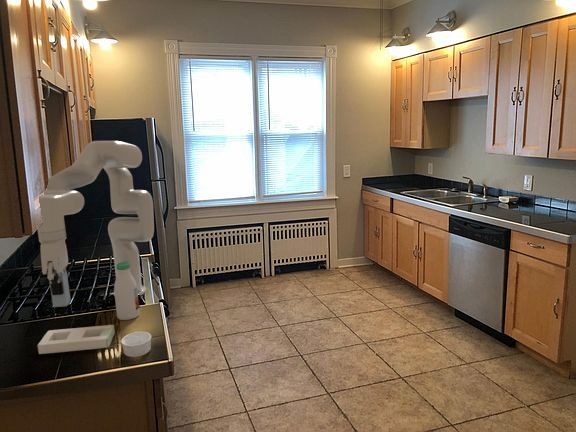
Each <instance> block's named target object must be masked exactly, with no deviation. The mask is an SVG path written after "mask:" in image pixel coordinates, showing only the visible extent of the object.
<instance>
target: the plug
mask: <svg viewBox="0 0 576 432" xmlns="http://www.w3.org/2000/svg"><path fill="white" fill-rule="evenodd" d="M56 272H57V271H54V273H56ZM54 276H56V277H57V275H54ZM60 279H61V282H62V285H63V292H64V293H63V294H62V295H52V290H51V284H50V280H49V279H48V281H49V288H50V294H51V295H50V296H51V301H52V307H53V308H58V307H59V308H60V307H67V306H68V305H69V304H70V302H71V293H70V286H69V280H68V279H69V277H68V272H67V270H66V271H65V272H64V271H63V270H62V271H61V272H60Z"/></svg>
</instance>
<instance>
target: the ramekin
mask: <svg viewBox="0 0 576 432" xmlns="http://www.w3.org/2000/svg"><path fill="white" fill-rule="evenodd" d="M120 343H121V345H122V350H123V353H124V355H125V356H127V357H130V358H137V357H141V356H144V355H146V354H147V353H149V352H150V351H151V348H152V335H151V333H150V332H147V331H135V332H131V333H129V334H126V335H125V336H122V338H121V340H120Z"/></svg>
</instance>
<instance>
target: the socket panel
mask: <svg viewBox="0 0 576 432" xmlns="http://www.w3.org/2000/svg"><path fill="white" fill-rule="evenodd" d="M114 336H115V324H107V325H95V326H94V325H93V326H85V327H75V328H73V327H72V328H62V329H60V328H59V329H53V330H52V329H51V330H47V332H46V333H45V334H44V335H43V337H42V339H41V340H40V341H39V343H38V344H37V351H38V354H39V355H42V354H43V355H45V354H55V353H65V352H75V351H85V350H97V349H104V348H106V349H107V348H109V347H110V345H111V343H112V341H113V339H114Z"/></svg>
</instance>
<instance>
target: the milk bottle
mask: <svg viewBox="0 0 576 432" xmlns="http://www.w3.org/2000/svg"><path fill="white" fill-rule="evenodd" d="M116 268H117V271H118V274H117V278H116V277H115V280H114V291H115V296H114V299H115V300H114V301H115V310H116V317H117V319H118V320H121V321H130V320H134V319H136V318H138V317H139V315H140V304H139V296H138V293H137V286H136V282H135V280H134V278H133V276H132V275H131V272H130V263H129V262H121V263H118V264H117V265H116ZM114 291H113V292H114Z"/></svg>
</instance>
